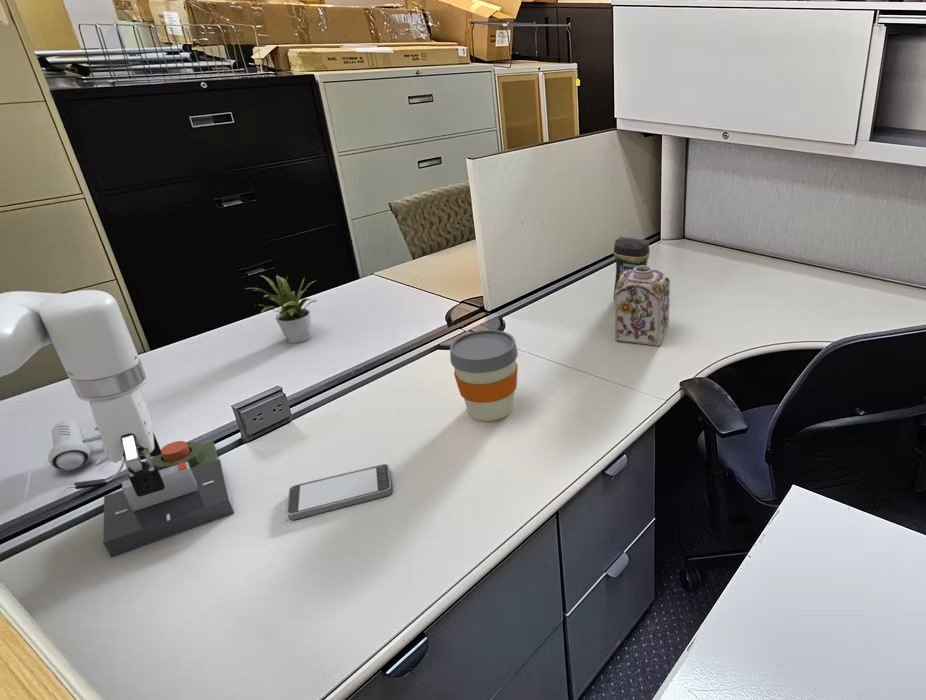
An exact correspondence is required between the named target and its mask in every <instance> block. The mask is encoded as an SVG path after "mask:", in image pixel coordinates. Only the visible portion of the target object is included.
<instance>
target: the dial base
mask: <svg viewBox="0 0 926 700" xmlns="http://www.w3.org/2000/svg"><path fill="white" fill-rule="evenodd" d="M218 459H219V460H216V461H213V462H210V463H207V464H204V465H200V466H197V467H194V468H191V470H192V473H193V475H194V477H195V480H196V482H197V486H198V491H195V492H192V493H189V494H185V495H182V496H179V497H176V498H173V499H170V500H167V501H164V502H161V503H158V504H155V505H152V506H149V507H146V508H143V509H140V510H137V511H133V510H132V508H131V506H130V504H129V502H128V500H127V498H126V496H125V494H124V492H123V490H122V489H121V490H118V491H115V492H112V493H109V494H105V495H104V496H103V532H102V533H103V534H102V544H103V546H104V547H105V549H106V551H107V553H108V555H109V557H110V558H114V557H118V556H120V555H123V554H126V553H128V552H131V551H133V550H137V549H139V548H142V547H145V546H148V545H150V544H153V543H155V542H158V541H161V540H165V539H166V538H171V537H172V536H175V535H179V534H181V533H184V532H186V531H189V530H192V529H194V528H195V529H196V528H197V527H200V526H203V525H205V524H208V523H211V522H215V521H217V520H220V519H222V518H226V517H228V516H231V515H234V514H235V510H234V505H233V501H232V496H231V492H230V488H229V483H228V478H227V474H226V471H225V469H224V466H223V463H222V461H221V459H220V458H218Z"/></svg>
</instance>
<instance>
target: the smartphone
mask: <svg viewBox="0 0 926 700" xmlns="http://www.w3.org/2000/svg"><path fill="white" fill-rule="evenodd" d="M390 470H391V469H390V466H389V464H388V463H381V464H376V465H373V466H369V467H364V468H360V469H357V470H353V471H348V472H344V473H340V474H334V475H332V476H331V475H330V476H327V477H322V478H319V479H315V480H309V481H306V482H302V483H298V484H294V485H292V486H290V488H289V489H288V499H287V507H286V514H287V516H288V519H289V520H290V521H291V520H293V521H294V520H297V519H302V518H306V517H309V516H314V515H317V514H321V513H324V512H329V511H333V510H336V509H340V508H345V507H348V506H352V505H355V504H360V503H363V502H367V501H371V500H376V499H379V498H383V497H387V496H389V495H391V494H392V493H393V488H392V478H391V471H390Z"/></svg>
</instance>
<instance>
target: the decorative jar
mask: <svg viewBox="0 0 926 700" xmlns="http://www.w3.org/2000/svg"><path fill="white" fill-rule="evenodd" d="M670 283H671V280H670V278H669V277H668V276H667V275H666V274H665V273H663V272H662V271H660V270H659V269H655V268H653V267H652V266H651V265H647V266H645V265H641V266H637V267H635V268H634V269H631V270H627V271H624V272H623V273H622V274H621V275H620V278H619V280H618V283H617V286H616V290H615V301H614V340H615V341H616V342H622V343H623V342H624V343H632V344H639V345H646V346H655V347H660V345H661V343H662V341H663V339H664V337H665V336H666V333H667V331H668V328H669V323H670V321H669V320H670V294H671V293H670V292H671V291H670V290H671V289H670V286H671V284H670Z"/></svg>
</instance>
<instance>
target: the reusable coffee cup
mask: <svg viewBox="0 0 926 700" xmlns="http://www.w3.org/2000/svg"><path fill="white" fill-rule="evenodd" d="M518 352H519V351H518V347H517V344H516V340H515V338H514V336H513V335H512V334H510V333H508V332H506V331H502V330H498V329H480V330H474V331H470V332H467V333H464V334H462V335H459V336H458V337H457V338H455V339H454V340H453V341H452V342H451V344H450V347H449V353H450V355H449V357H450V359H449V360H450V364H451V365H452V367H453V369H454V373H453V376H454V378H455V381H456V385H457V388H458V391H459V394H460V396H461V397H462V398H463V400H464V402H465V405H466V409H467V412H468V415H469V416H470V417H471V418H472V419H474V420H476V421H480V422H493V421H498V420H501V419H503V418H505V417H507V416H509V415H510V414H511V413H512V412H513V410H514V408H515V391H516V389H517V387H518V369H519V368H518V367H519V365H518V363H517V358H518V355H519V354H518Z"/></svg>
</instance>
